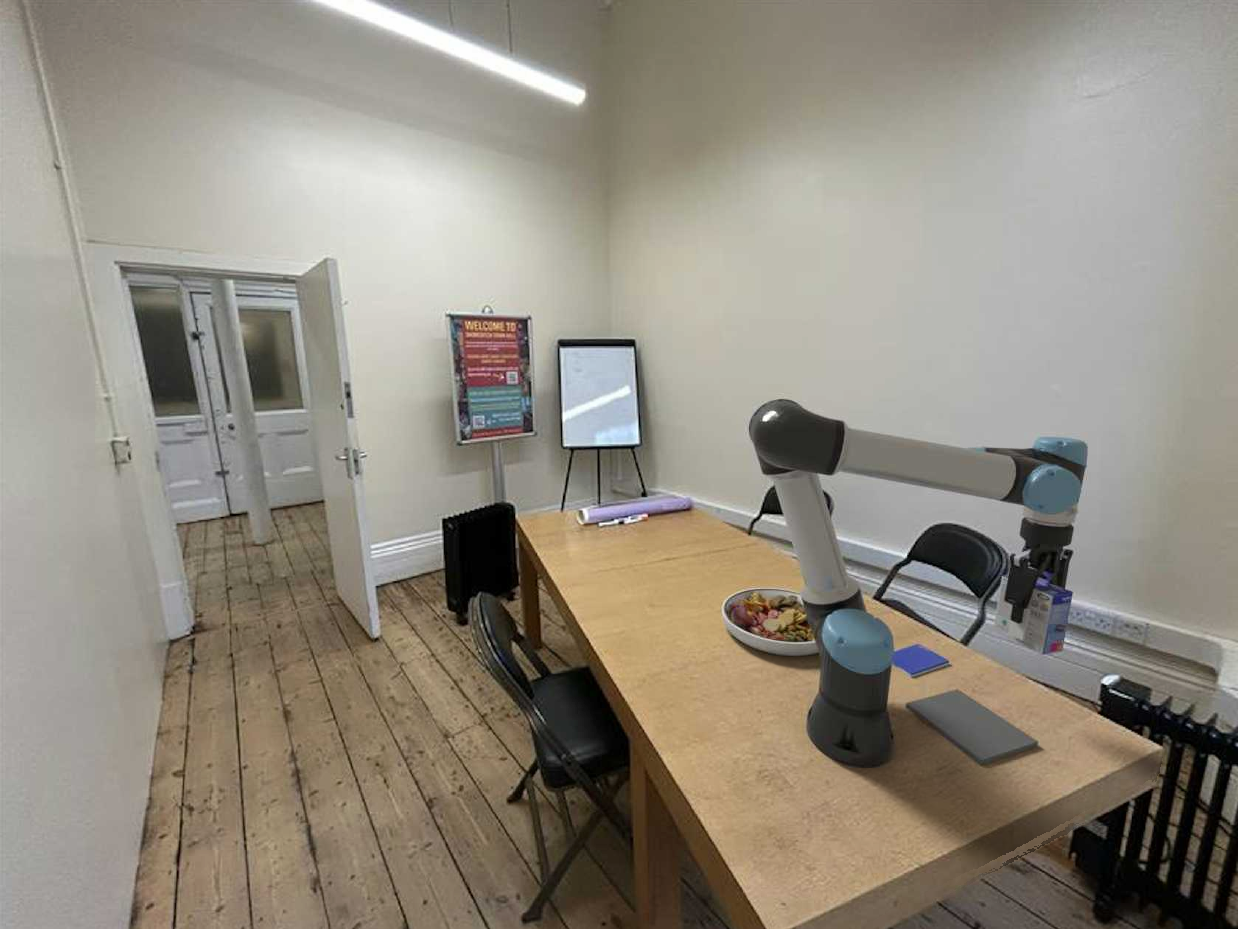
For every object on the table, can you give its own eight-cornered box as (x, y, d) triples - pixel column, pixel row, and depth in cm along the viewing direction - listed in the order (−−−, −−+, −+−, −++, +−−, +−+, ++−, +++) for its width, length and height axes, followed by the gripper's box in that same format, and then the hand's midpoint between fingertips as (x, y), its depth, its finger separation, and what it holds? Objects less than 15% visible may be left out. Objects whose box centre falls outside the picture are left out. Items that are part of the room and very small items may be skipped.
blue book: (917, 642, 126) (880, 654, 122) (949, 660, 119) (911, 673, 114) (916, 648, 127) (880, 660, 122) (948, 666, 119) (910, 679, 115)
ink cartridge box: (1065, 651, 96) (1077, 580, 93) (1043, 657, 95) (1055, 584, 92) (1012, 625, 106) (1021, 560, 103) (992, 630, 104) (1001, 564, 101)
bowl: (791, 596, 154) (793, 572, 153) (867, 649, 126) (869, 620, 125) (701, 612, 145) (702, 587, 144) (761, 673, 117) (763, 642, 116)
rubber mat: (980, 765, 90) (981, 760, 90) (905, 707, 105) (906, 703, 105) (1037, 746, 94) (1038, 741, 94) (957, 693, 109) (957, 689, 109)
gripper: (1034, 532, 89) (1013, 652, 94) (1104, 521, 94) (1081, 636, 99) (991, 519, 96) (974, 632, 101) (1059, 510, 101) (1040, 617, 106)
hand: (1027, 633), depth 100 cm, fingers closed on ink cartridge box, 5 cm apart
